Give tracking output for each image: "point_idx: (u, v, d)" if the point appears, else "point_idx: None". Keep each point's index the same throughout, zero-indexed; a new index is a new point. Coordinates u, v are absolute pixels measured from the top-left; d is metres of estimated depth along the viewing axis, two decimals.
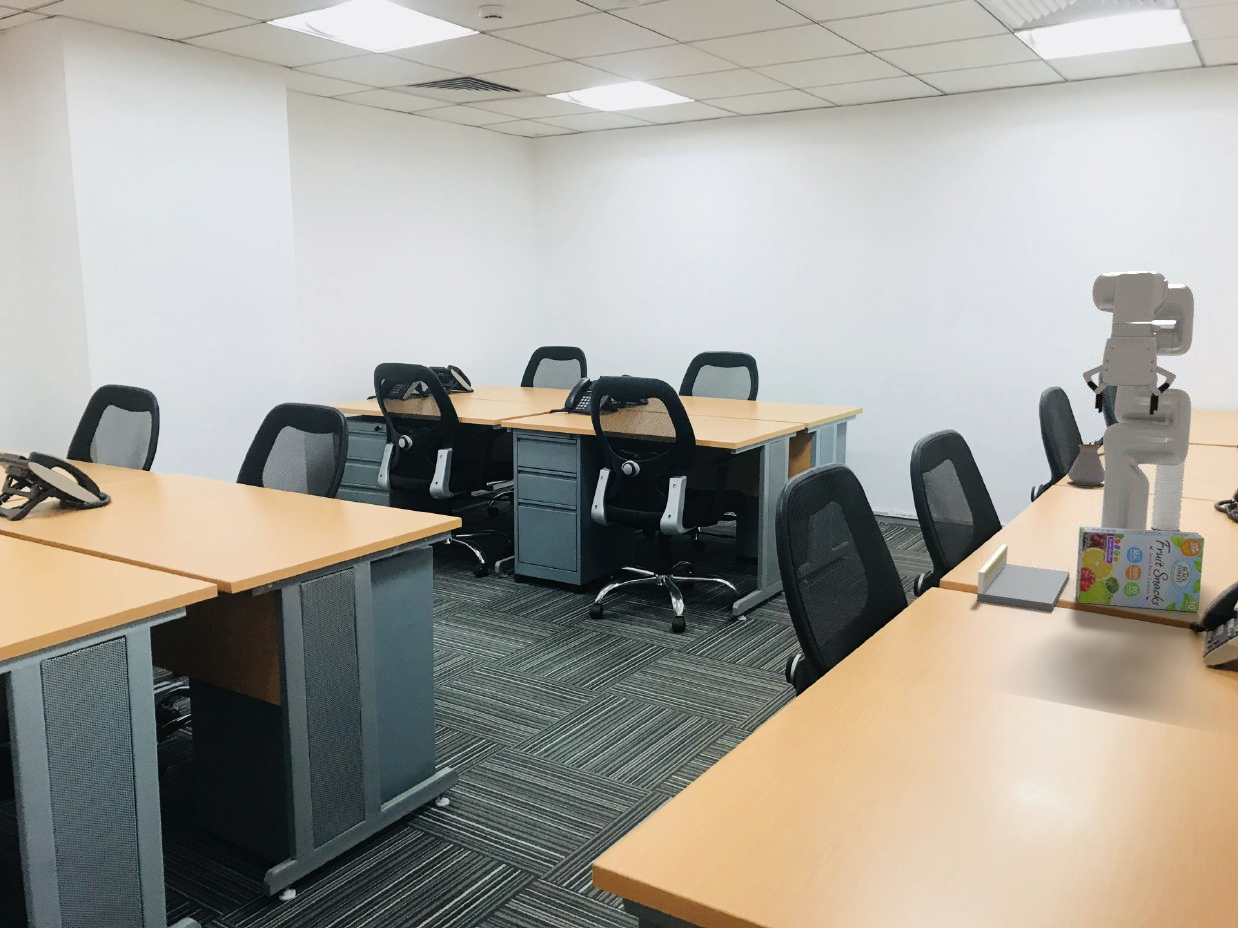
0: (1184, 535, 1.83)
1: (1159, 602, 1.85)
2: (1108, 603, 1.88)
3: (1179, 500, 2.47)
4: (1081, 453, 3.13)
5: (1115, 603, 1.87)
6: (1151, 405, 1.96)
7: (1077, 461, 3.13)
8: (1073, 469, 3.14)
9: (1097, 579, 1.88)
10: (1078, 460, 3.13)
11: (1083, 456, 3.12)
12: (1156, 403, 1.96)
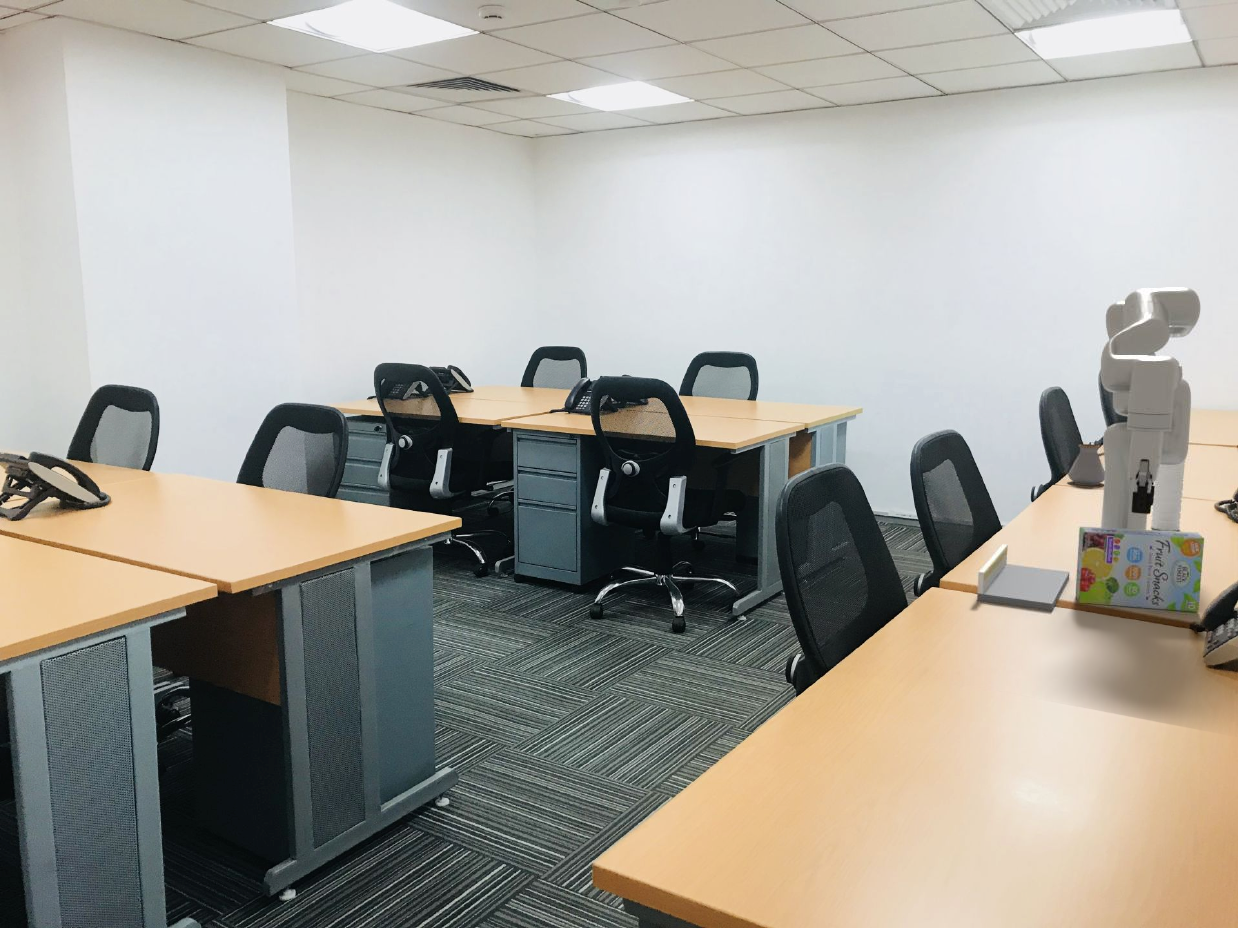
0: (1184, 535, 1.83)
1: (1159, 602, 1.85)
2: (1108, 603, 1.88)
3: (1179, 500, 2.47)
4: (1081, 453, 3.13)
5: (1115, 603, 1.87)
6: (1153, 496, 1.88)
7: (1077, 461, 3.13)
8: (1073, 469, 3.14)
9: (1097, 579, 1.88)
10: (1078, 460, 3.13)
11: (1083, 456, 3.12)
12: None
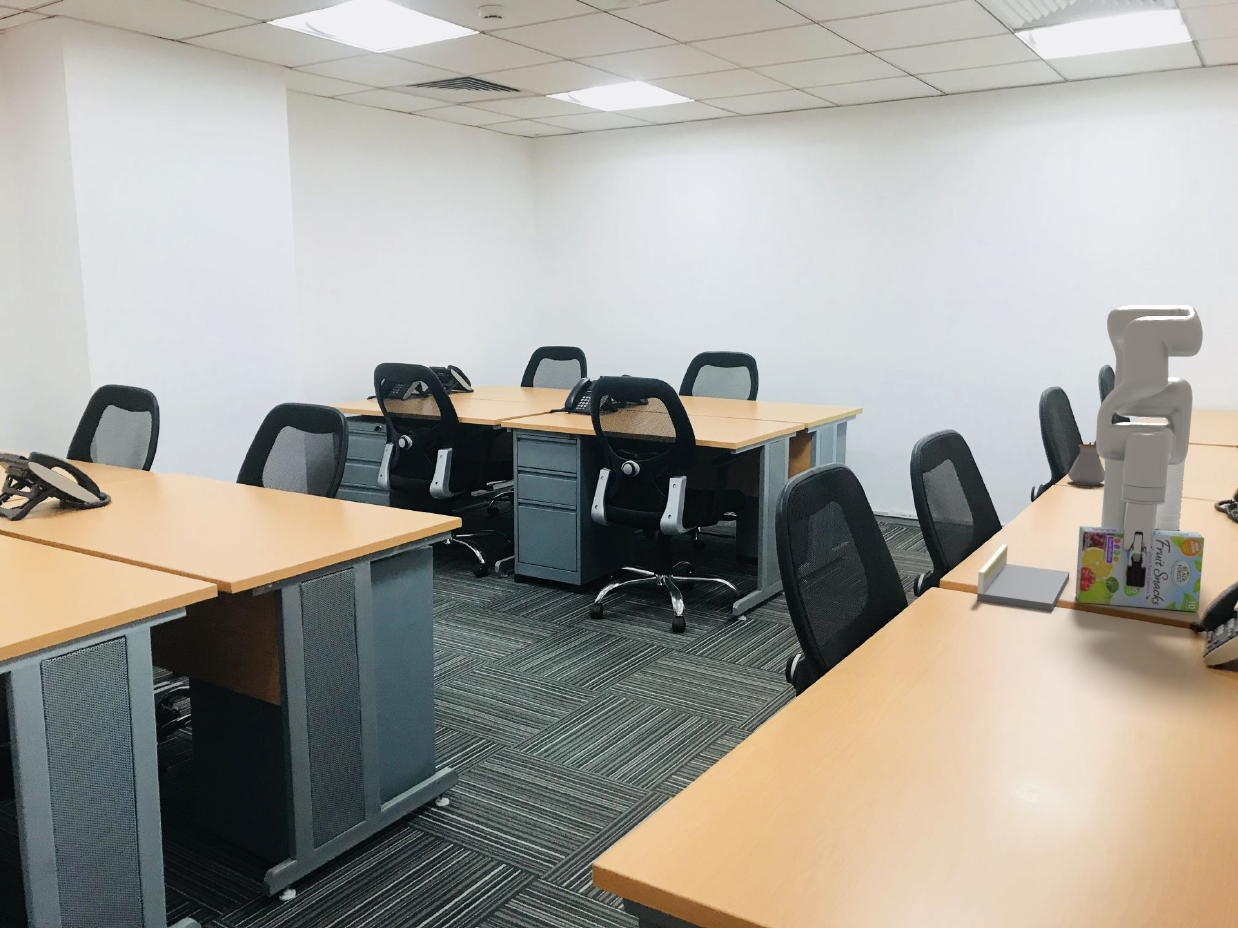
0: (1184, 535, 1.82)
1: (1159, 602, 1.85)
2: (1108, 603, 1.88)
3: (1179, 500, 2.47)
4: (1081, 453, 3.13)
5: (1115, 603, 1.87)
6: None
7: (1077, 461, 3.13)
8: (1073, 469, 3.14)
9: (1097, 579, 1.88)
10: (1078, 460, 3.13)
11: (1083, 456, 3.12)
12: None
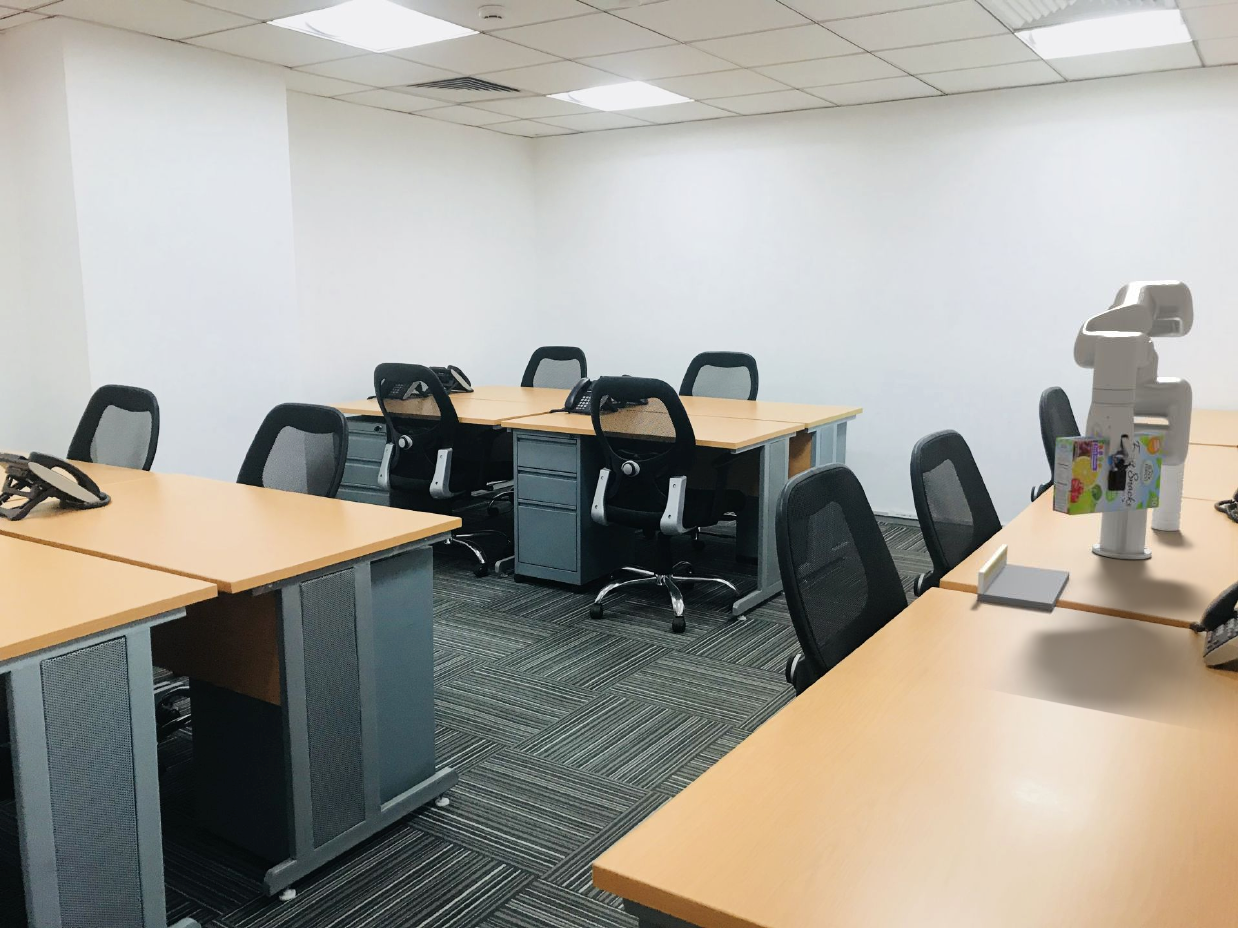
0: (1146, 434, 1.87)
1: (1131, 503, 1.87)
2: (1093, 511, 1.85)
3: (1179, 500, 2.47)
4: None
5: (1098, 510, 1.86)
6: None
7: None
8: None
9: (1085, 489, 1.84)
10: None
11: None
12: None
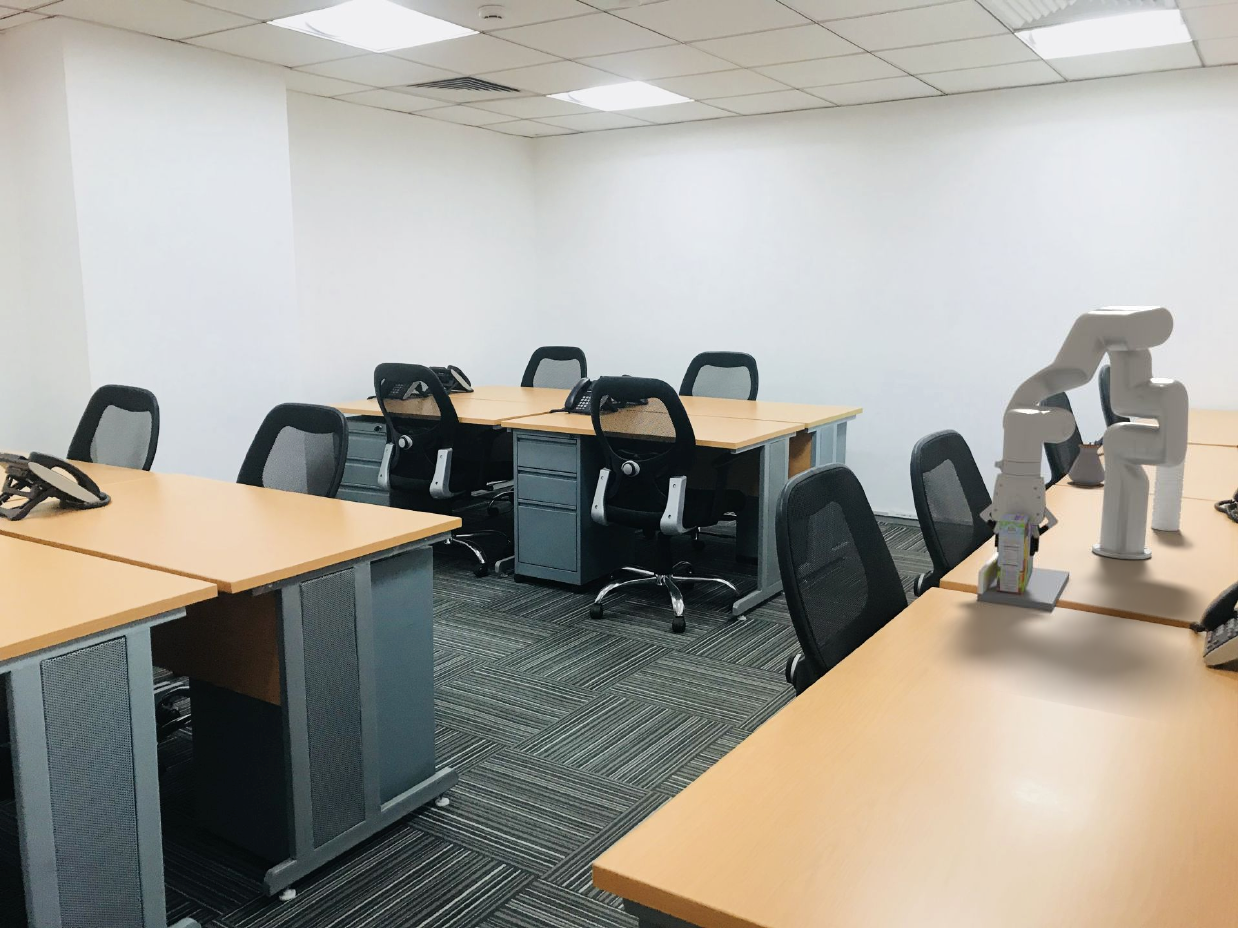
0: None
1: (1030, 570, 2.02)
2: (1025, 585, 1.95)
3: (1179, 500, 2.47)
4: (1081, 453, 3.13)
5: None
6: None
7: (1077, 461, 3.13)
8: (1073, 469, 3.14)
9: (1026, 566, 1.92)
10: (1078, 460, 3.13)
11: (1083, 456, 3.12)
12: None
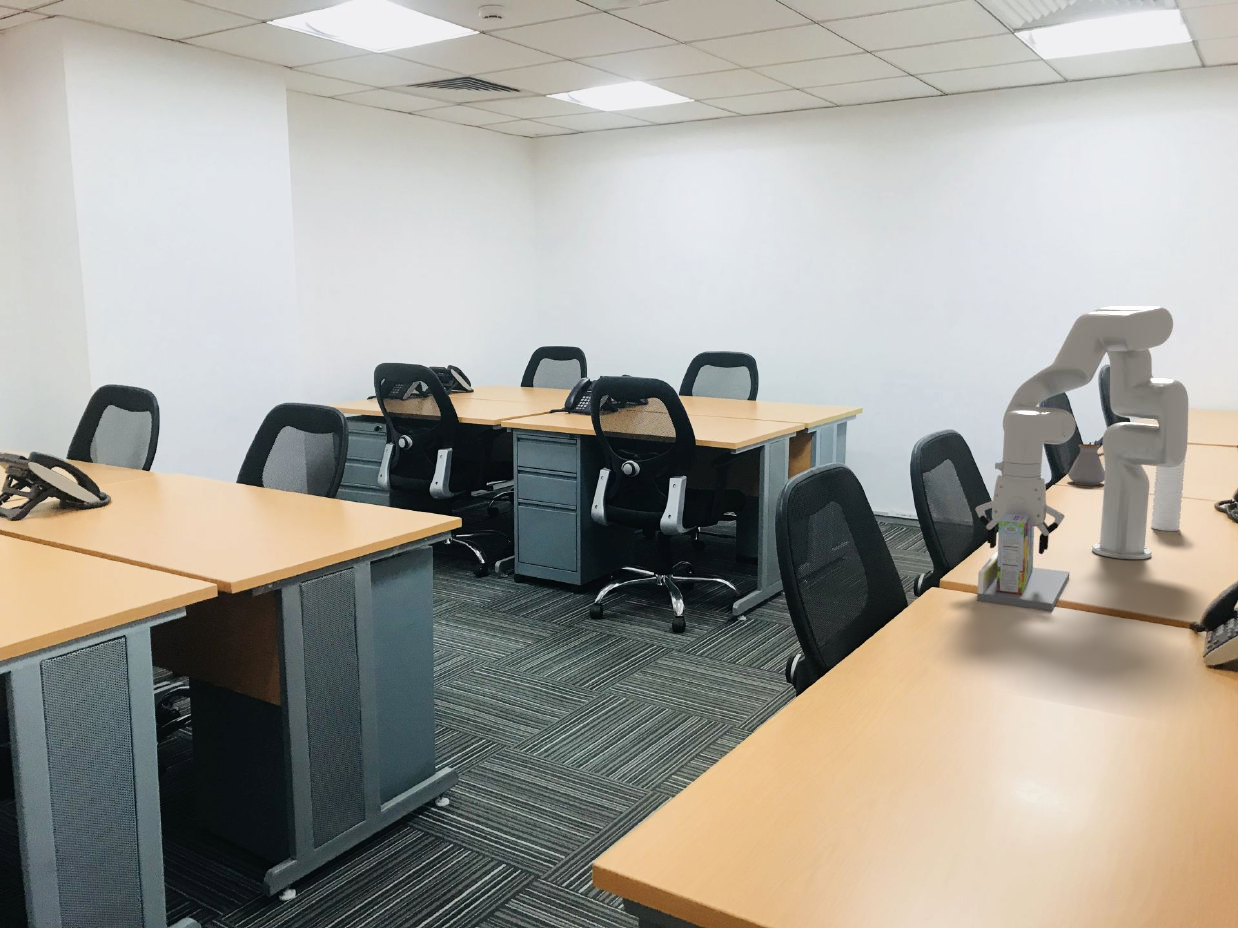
0: None
1: (1030, 570, 2.02)
2: (1025, 585, 1.95)
3: (1179, 500, 2.47)
4: (1081, 453, 3.13)
5: None
6: None
7: (1077, 461, 3.13)
8: (1073, 469, 3.14)
9: (1025, 566, 1.92)
10: (1078, 460, 3.13)
11: (1083, 456, 3.12)
12: None
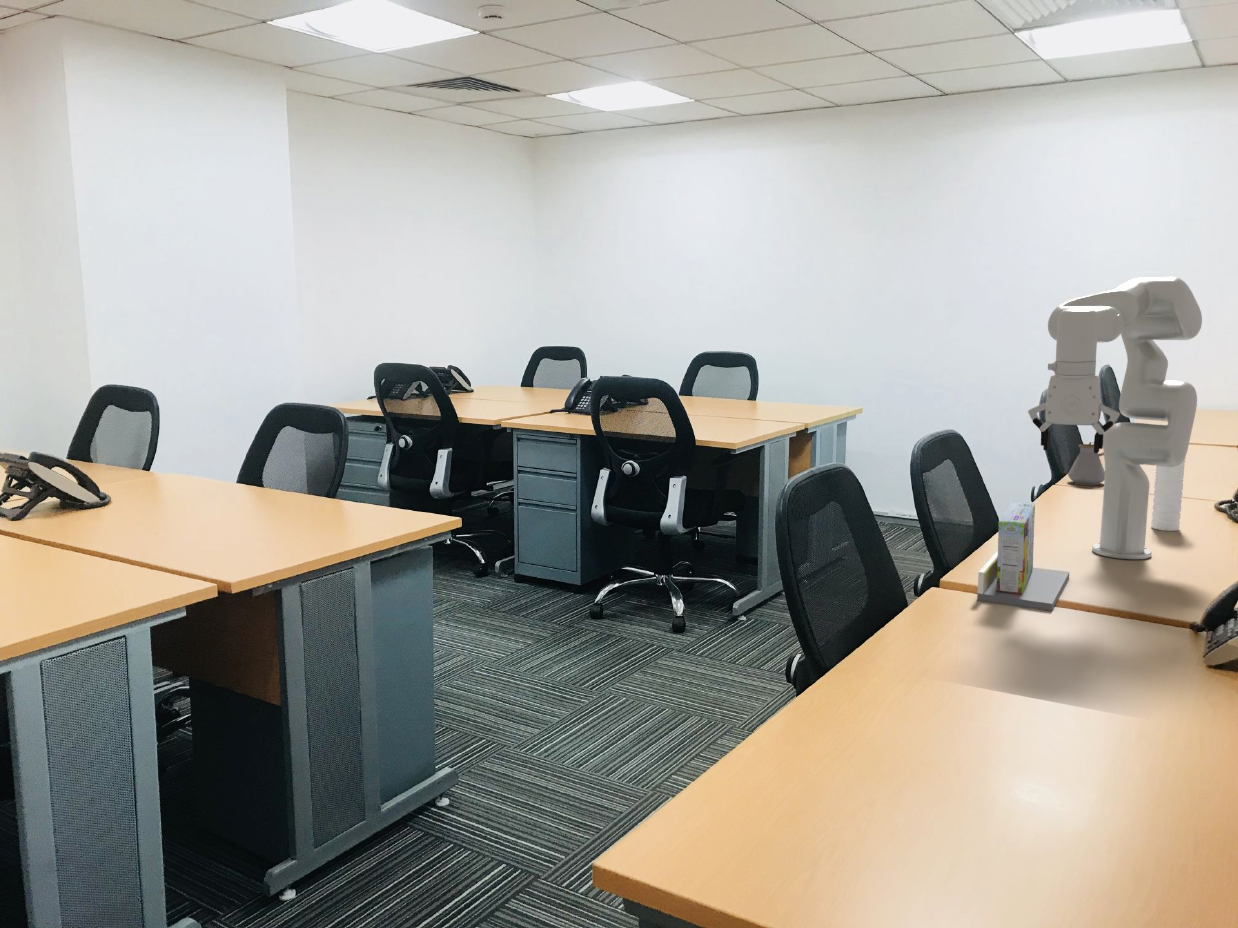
0: (1029, 505, 2.04)
1: (1030, 570, 2.02)
2: (1025, 585, 1.95)
3: (1179, 500, 2.47)
4: (1081, 453, 3.13)
5: None
6: None
7: (1077, 461, 3.13)
8: (1073, 469, 3.14)
9: (1025, 566, 1.92)
10: (1078, 460, 3.13)
11: (1083, 456, 3.12)
12: None
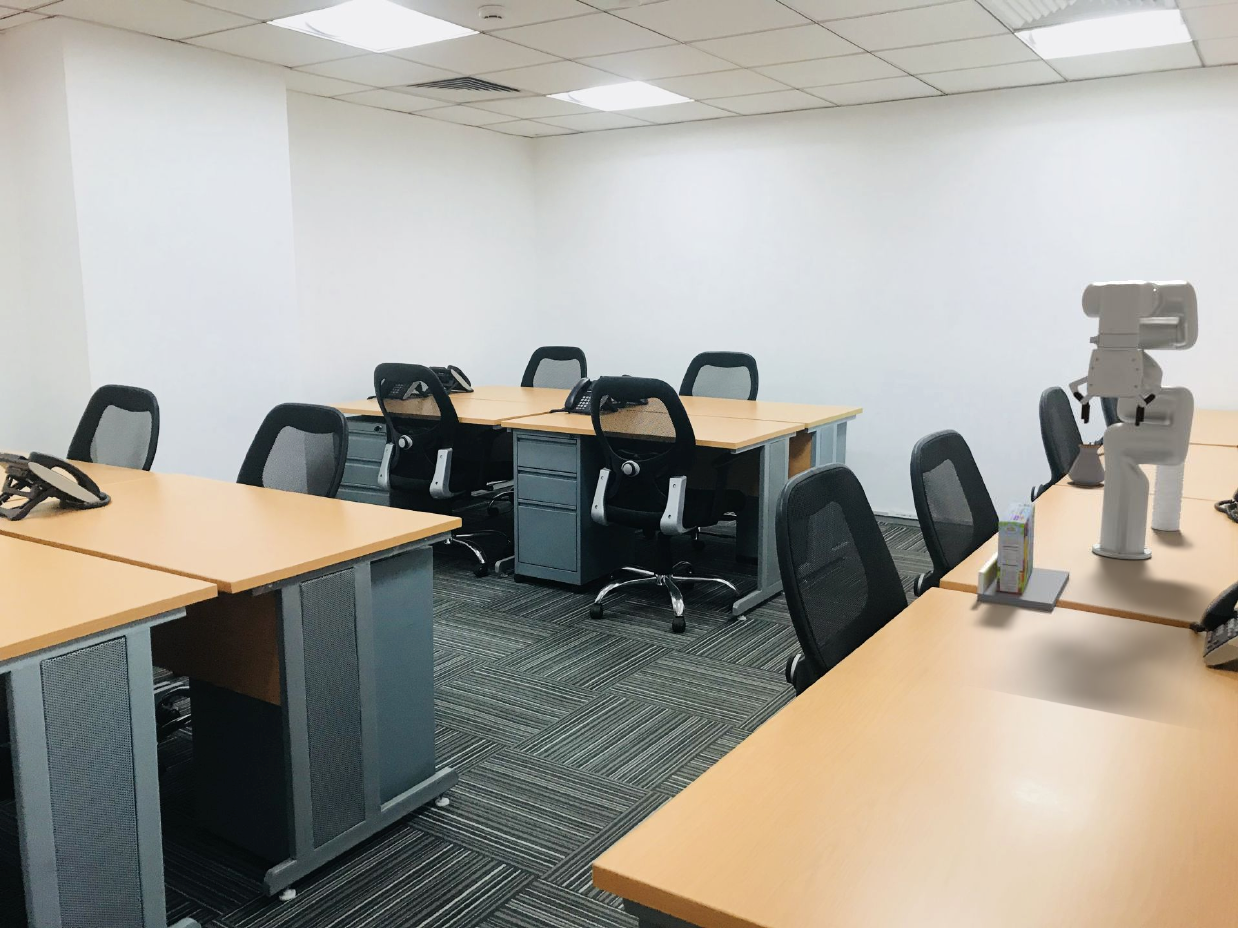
0: (1029, 505, 2.04)
1: (1030, 570, 2.02)
2: (1025, 585, 1.95)
3: (1179, 500, 2.47)
4: (1081, 453, 3.13)
5: None
6: None
7: (1077, 461, 3.13)
8: (1073, 469, 3.14)
9: (1025, 566, 1.92)
10: (1078, 460, 3.13)
11: (1083, 456, 3.12)
12: None
